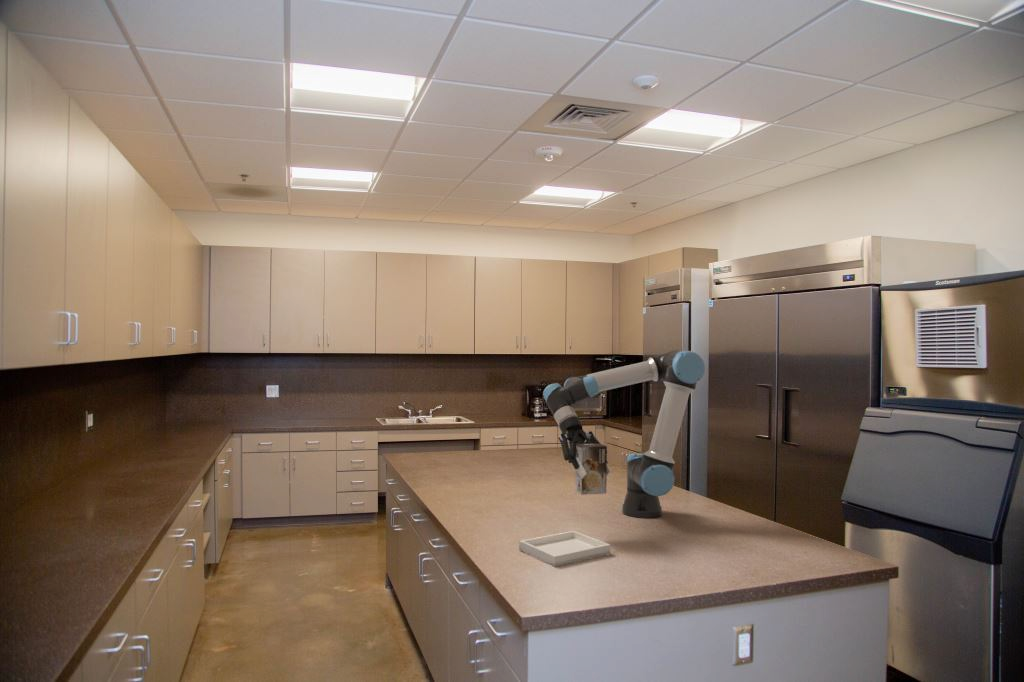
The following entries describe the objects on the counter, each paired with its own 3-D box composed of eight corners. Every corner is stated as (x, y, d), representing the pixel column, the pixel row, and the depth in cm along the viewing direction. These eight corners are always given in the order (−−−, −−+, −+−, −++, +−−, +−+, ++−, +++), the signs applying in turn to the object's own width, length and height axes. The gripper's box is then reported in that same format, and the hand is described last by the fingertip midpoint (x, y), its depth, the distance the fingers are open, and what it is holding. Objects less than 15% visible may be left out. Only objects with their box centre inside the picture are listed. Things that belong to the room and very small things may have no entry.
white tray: (519, 550, 206) (519, 540, 206) (573, 539, 218) (573, 530, 218) (554, 567, 191) (554, 556, 191) (610, 554, 203) (610, 544, 203)
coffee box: (599, 489, 225) (600, 443, 225) (606, 494, 219) (608, 446, 219) (574, 490, 223) (575, 443, 223) (580, 495, 217) (582, 446, 217)
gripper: (588, 426, 240) (616, 478, 227) (537, 430, 228) (564, 484, 215) (597, 414, 236) (627, 465, 223) (547, 416, 223) (575, 471, 210)
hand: (596, 474), depth 219 cm, fingers closed on coffee box, 10 cm apart
